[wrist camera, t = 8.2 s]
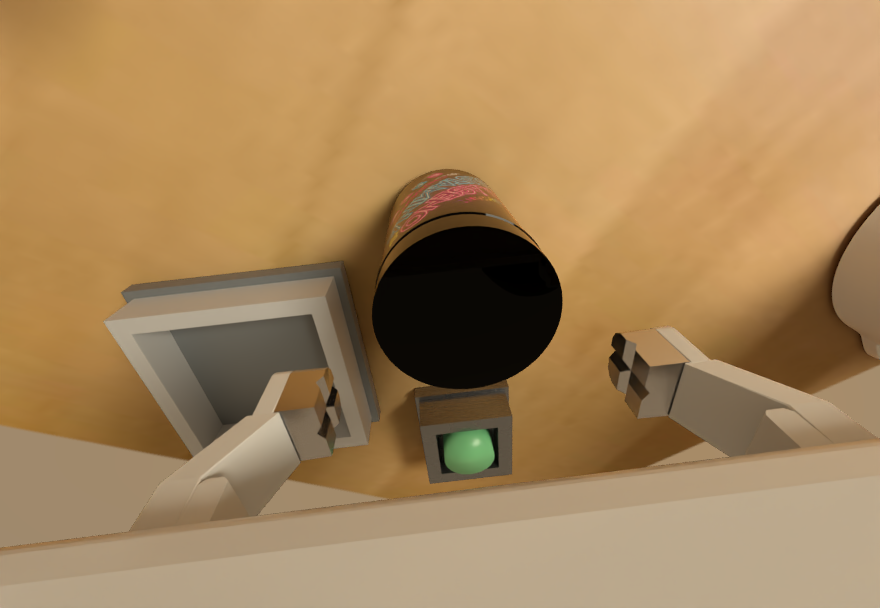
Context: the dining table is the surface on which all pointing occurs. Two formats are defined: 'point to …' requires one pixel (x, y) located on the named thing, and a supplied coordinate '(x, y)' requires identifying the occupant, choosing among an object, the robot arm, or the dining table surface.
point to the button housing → (464, 426)
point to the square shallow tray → (245, 345)
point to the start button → (468, 451)
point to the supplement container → (461, 286)
